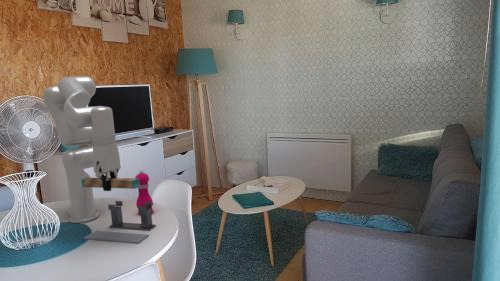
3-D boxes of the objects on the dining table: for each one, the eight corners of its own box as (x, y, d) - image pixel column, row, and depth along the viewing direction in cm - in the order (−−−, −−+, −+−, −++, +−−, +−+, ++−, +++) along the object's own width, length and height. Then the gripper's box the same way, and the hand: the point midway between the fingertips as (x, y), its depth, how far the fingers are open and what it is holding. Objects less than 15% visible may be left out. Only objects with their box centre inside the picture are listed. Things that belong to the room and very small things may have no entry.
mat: (84, 239, 147) (83, 237, 147) (96, 232, 153) (96, 230, 153) (138, 243, 139) (138, 242, 139) (148, 236, 146) (148, 234, 146)
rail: (82, 187, 145) (81, 179, 145) (87, 184, 148) (86, 177, 148) (135, 188, 138) (134, 180, 138) (139, 186, 141) (138, 178, 141)
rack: (108, 228, 157) (105, 204, 155) (116, 223, 162) (114, 200, 160) (149, 231, 151) (146, 206, 149) (156, 226, 156) (153, 202, 154)
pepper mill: (156, 210, 176) (151, 167, 173) (150, 215, 169) (146, 171, 165) (141, 210, 176) (136, 168, 173) (134, 216, 169) (129, 172, 166)
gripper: (110, 137, 149) (115, 183, 152) (80, 144, 134) (87, 195, 137) (127, 137, 147) (132, 183, 150) (98, 144, 132) (104, 196, 135)
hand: (110, 188), depth 143 cm, fingers closed on rail, 3 cm apart
